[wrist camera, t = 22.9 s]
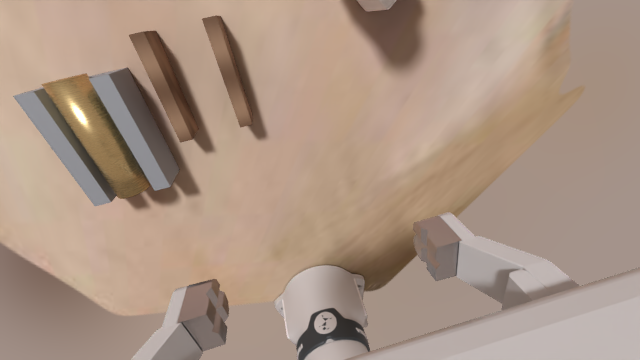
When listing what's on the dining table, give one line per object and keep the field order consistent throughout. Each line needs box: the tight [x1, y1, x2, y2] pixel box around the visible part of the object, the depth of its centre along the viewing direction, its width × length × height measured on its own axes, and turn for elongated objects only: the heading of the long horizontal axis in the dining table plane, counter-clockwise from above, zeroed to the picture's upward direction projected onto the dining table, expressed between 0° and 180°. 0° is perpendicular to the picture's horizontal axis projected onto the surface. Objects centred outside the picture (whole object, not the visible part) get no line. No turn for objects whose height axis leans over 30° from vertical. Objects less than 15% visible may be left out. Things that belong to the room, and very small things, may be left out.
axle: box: [41, 74, 151, 199], centre depth 33 cm, size 14×4×4 cm, turn 11°
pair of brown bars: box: [129, 16, 253, 142], centre depth 34 cm, size 12×9×4 cm
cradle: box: [13, 68, 180, 206], centre depth 35 cm, size 14×10×5 cm
